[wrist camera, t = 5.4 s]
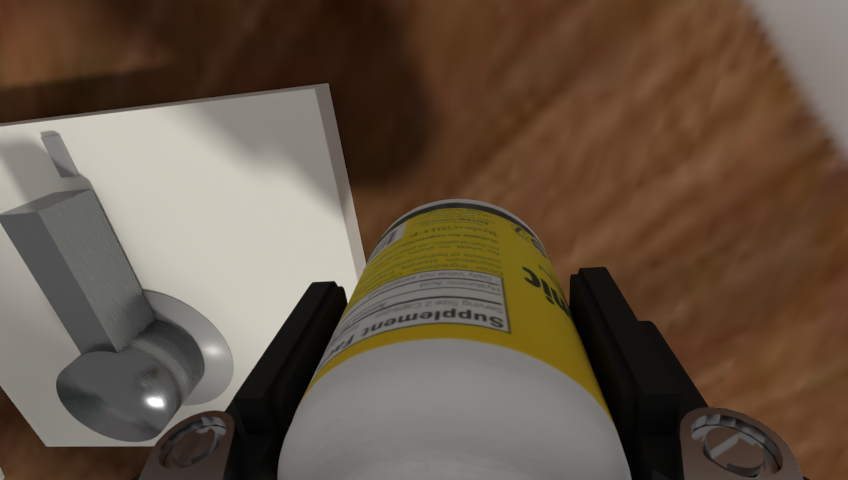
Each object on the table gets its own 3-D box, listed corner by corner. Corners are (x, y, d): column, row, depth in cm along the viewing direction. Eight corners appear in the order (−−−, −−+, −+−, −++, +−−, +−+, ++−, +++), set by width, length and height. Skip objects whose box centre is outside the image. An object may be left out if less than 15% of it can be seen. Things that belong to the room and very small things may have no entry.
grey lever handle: (218, 390, 20) (182, 441, 17) (134, 391, 20) (88, 442, 18) (125, 185, 15) (58, 215, 13) (21, 195, 16) (-60, 226, 14)
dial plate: (328, 82, 15) (312, 89, 13) (398, 420, 22) (393, 449, 21) (-131, 139, 18) (-187, 149, 16) (68, 424, 25) (43, 449, 23)
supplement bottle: (557, 343, 13) (726, 934, 4) (391, 355, 14) (257, 866, 5) (546, 179, 11) (833, 685, 2) (353, 205, 12) (22, 643, 3)
